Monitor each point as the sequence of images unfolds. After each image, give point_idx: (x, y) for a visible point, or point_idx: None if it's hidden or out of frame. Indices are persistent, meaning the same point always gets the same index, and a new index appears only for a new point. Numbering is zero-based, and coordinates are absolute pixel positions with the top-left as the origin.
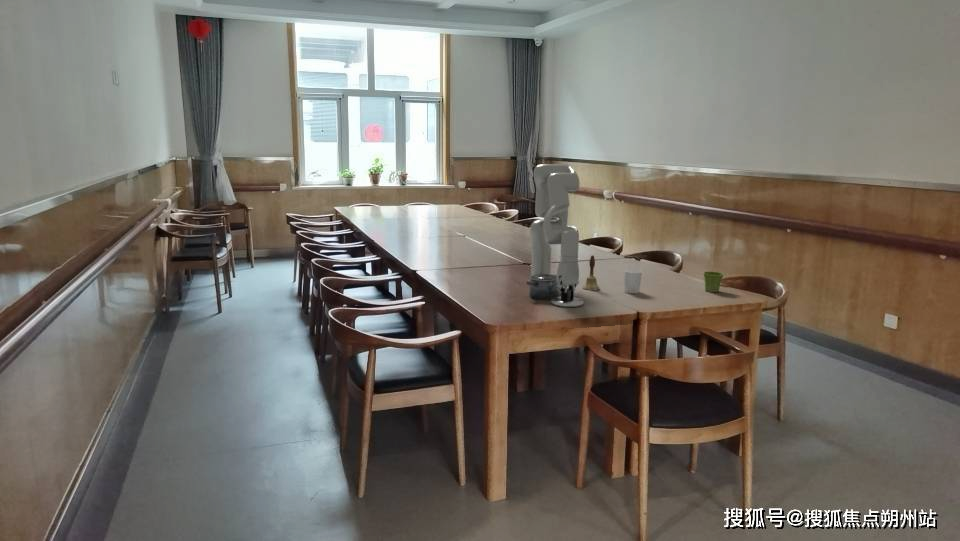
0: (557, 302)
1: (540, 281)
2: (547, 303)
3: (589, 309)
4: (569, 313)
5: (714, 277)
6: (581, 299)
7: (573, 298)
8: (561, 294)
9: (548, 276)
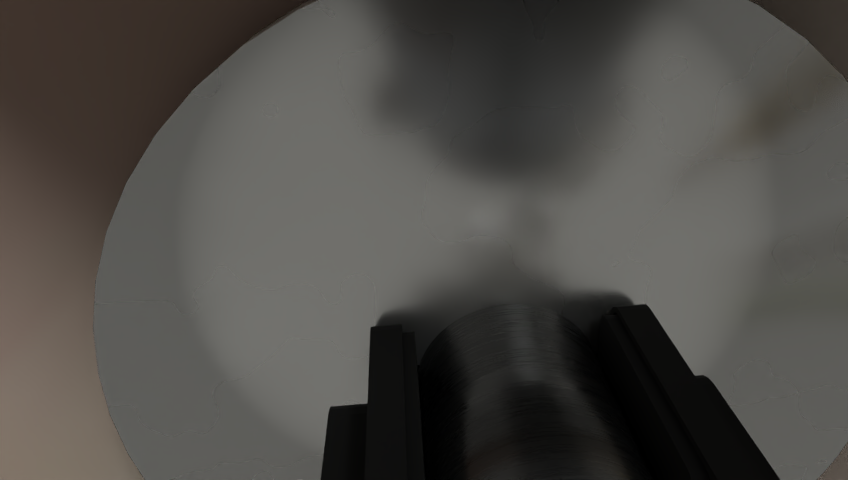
0: (170, 393)
1: None
2: (89, 65)
3: None
4: None
5: None
6: (820, 466)
7: (774, 337)
8: (366, 445)
9: None
